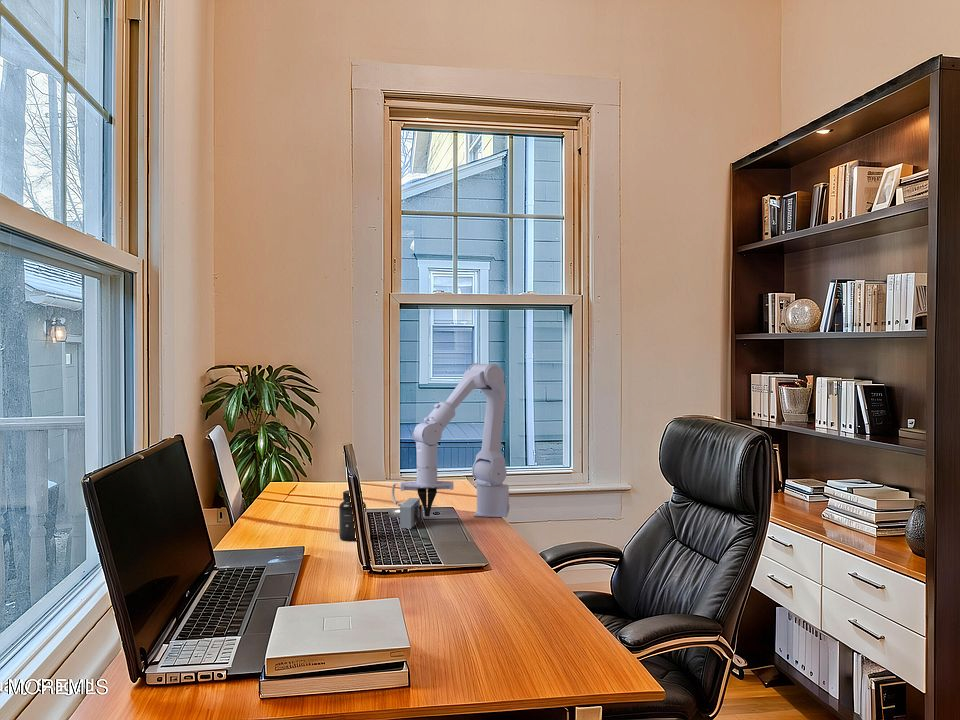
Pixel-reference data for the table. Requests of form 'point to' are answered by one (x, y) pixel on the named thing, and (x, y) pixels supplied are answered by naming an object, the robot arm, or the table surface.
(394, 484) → the hook
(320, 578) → the table surface
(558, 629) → the table surface
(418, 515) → the pin
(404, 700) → the table surface
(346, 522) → the supplement bottle
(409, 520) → the hitch block
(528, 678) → the table surface
